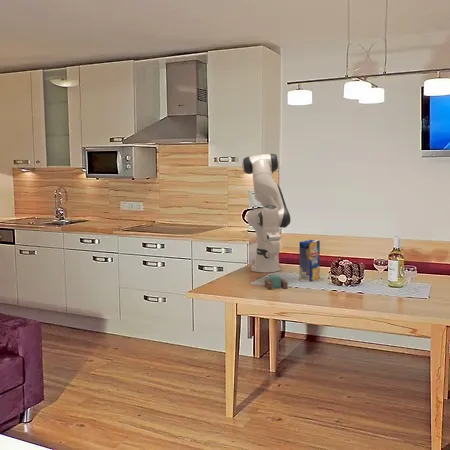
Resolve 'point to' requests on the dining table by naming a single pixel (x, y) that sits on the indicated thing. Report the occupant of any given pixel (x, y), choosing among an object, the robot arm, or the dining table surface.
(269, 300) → the dining table surface
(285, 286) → the chute
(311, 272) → the beverage box
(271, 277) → the block
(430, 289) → the dining table surface
